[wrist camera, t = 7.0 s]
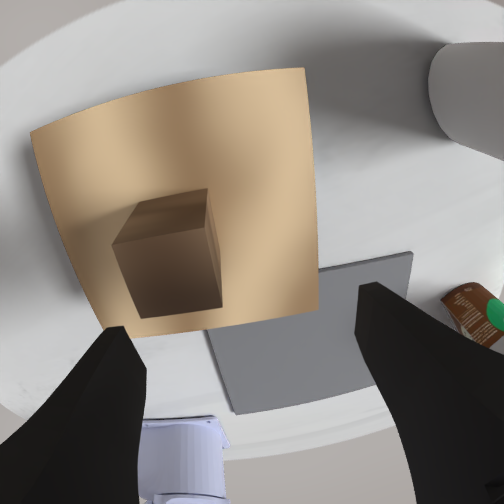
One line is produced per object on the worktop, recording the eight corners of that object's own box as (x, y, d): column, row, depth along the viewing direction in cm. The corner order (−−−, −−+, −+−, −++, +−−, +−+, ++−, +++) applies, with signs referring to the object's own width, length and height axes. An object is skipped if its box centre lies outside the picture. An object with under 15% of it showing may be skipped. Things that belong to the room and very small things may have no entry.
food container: (497, 308, 27) (543, 362, 18) (462, 342, 29) (504, 402, 20) (480, 247, 22) (551, 311, 13) (435, 292, 23) (498, 370, 15)
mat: (235, 412, 28) (235, 415, 28) (196, 290, 20) (196, 293, 20) (382, 379, 29) (383, 382, 28) (410, 251, 21) (413, 253, 21)
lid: (112, 331, 16) (92, 394, 12) (38, 129, 11) (-26, 152, 6) (314, 300, 17) (342, 364, 13) (299, 69, 11) (342, 56, 7)
